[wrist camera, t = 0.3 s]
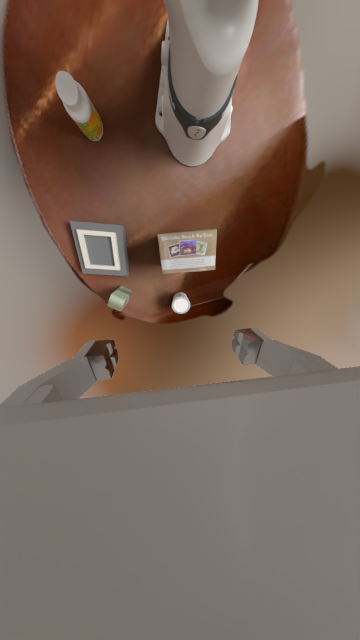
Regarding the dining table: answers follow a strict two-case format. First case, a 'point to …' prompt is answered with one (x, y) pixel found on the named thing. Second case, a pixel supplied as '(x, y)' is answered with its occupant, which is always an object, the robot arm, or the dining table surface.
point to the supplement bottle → (79, 106)
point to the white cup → (180, 303)
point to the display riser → (101, 248)
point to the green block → (119, 298)
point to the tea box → (187, 251)
